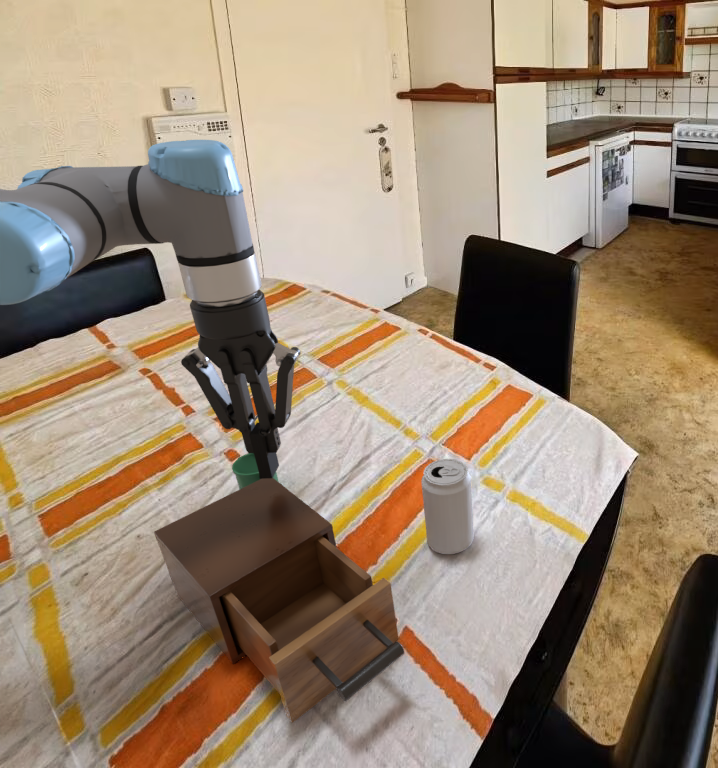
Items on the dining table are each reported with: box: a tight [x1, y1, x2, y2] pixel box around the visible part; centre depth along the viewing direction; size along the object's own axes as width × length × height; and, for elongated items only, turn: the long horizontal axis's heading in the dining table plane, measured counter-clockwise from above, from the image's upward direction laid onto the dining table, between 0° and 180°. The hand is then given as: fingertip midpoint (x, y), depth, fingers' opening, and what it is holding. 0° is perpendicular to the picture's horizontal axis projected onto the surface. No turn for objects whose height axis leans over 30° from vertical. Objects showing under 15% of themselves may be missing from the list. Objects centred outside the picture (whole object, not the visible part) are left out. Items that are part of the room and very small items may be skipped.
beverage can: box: [420, 458, 475, 555], centre depth 83 cm, size 6×6×12 cm
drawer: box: [220, 536, 405, 723], centre depth 66 cm, size 19×13×9 cm
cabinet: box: [153, 478, 338, 665], centre depth 75 cm, size 15×15×11 cm
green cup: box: [231, 453, 280, 490], centre depth 94 cm, size 8×6×6 cm
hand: (269, 471), depth 78 cm, fingers closed
